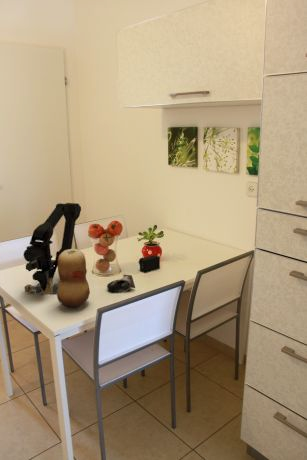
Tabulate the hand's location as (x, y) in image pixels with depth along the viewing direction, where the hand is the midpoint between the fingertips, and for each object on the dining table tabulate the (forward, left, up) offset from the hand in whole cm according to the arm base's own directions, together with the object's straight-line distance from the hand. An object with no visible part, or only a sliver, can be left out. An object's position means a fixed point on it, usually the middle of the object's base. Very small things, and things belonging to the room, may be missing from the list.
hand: (47, 286), depth 182 cm
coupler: (0, 0, -3) cm, 3 cm away
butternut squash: (-15, +15, -3) cm, 21 cm away
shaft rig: (0, 0, -3) cm, 3 cm away
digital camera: (-48, -26, -3) cm, 55 cm away
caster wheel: (-34, 0, -3) cm, 34 cm away
